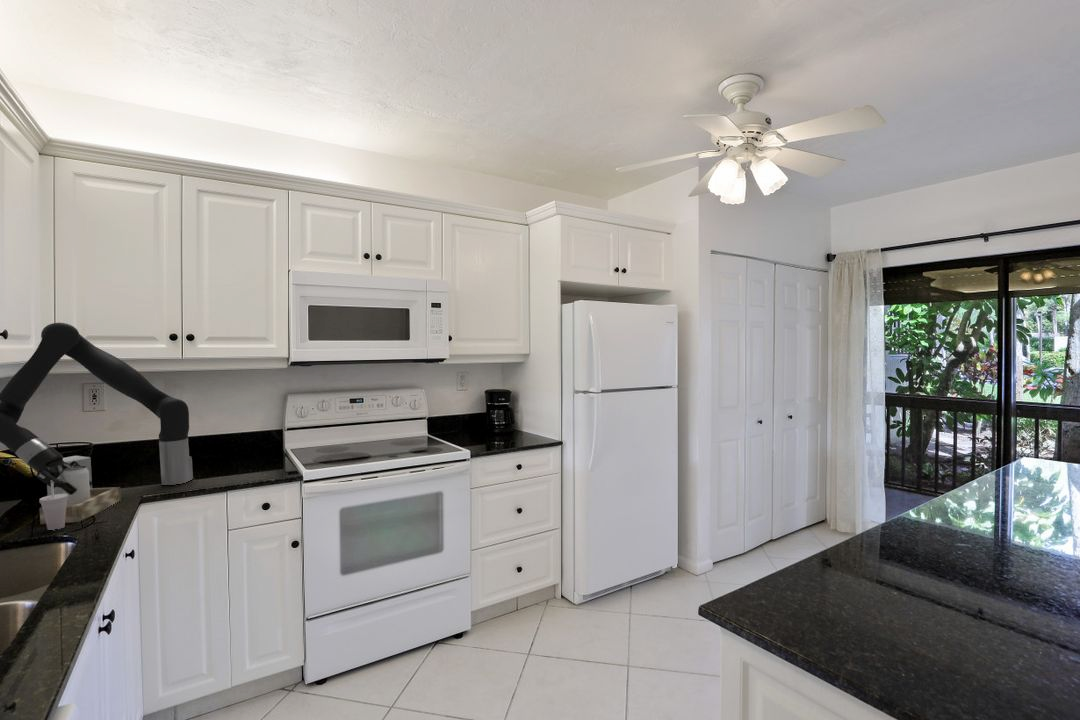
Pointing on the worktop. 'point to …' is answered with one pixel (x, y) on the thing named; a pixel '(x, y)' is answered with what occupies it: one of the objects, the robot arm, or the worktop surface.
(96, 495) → the crate
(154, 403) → the robot arm
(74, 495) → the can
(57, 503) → the smoothie
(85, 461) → the supplement box
